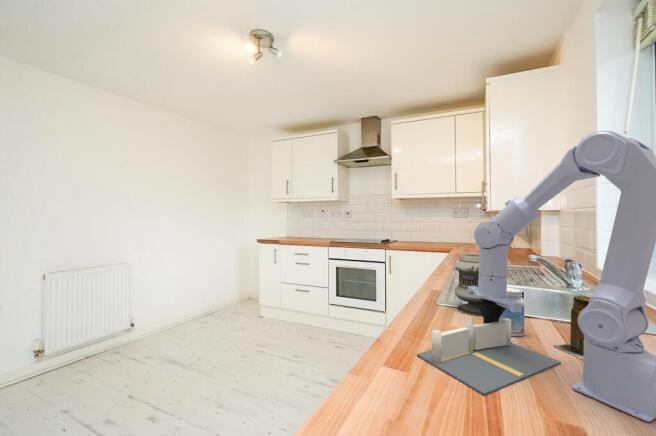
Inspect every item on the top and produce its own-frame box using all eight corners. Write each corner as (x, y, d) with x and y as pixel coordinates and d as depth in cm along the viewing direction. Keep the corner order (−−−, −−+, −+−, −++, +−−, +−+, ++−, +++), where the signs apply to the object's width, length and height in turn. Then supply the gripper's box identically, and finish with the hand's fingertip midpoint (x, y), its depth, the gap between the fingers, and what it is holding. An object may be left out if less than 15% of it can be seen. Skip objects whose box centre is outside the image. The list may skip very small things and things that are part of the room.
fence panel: (476, 350, 63) (477, 324, 63) (470, 346, 65) (470, 321, 65) (512, 344, 66) (513, 320, 66) (505, 341, 68) (506, 317, 68)
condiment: (617, 358, 63) (618, 302, 63) (587, 362, 61) (588, 304, 61) (581, 343, 70) (582, 293, 70) (552, 346, 68) (553, 295, 68)
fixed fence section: (468, 348, 65) (468, 321, 65) (475, 351, 64) (475, 324, 64) (429, 359, 60) (430, 330, 60) (436, 363, 58) (437, 333, 58)
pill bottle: (528, 338, 72) (529, 293, 72) (501, 336, 73) (502, 291, 73) (517, 329, 78) (518, 287, 78) (493, 327, 79) (493, 286, 79)
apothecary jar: (468, 303, 102) (469, 251, 102) (503, 312, 92) (504, 255, 92) (446, 308, 96) (447, 253, 96) (482, 319, 85) (483, 258, 85)
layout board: (560, 363, 60) (561, 361, 60) (484, 395, 48) (484, 392, 48) (489, 335, 73) (489, 333, 73) (416, 355, 62) (416, 353, 62)
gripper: (457, 269, 74) (456, 322, 74) (501, 282, 59) (499, 348, 60) (482, 268, 75) (480, 321, 75) (531, 281, 61) (529, 346, 61)
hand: (491, 333), depth 67 cm, fingers closed, pressing on fence panel
